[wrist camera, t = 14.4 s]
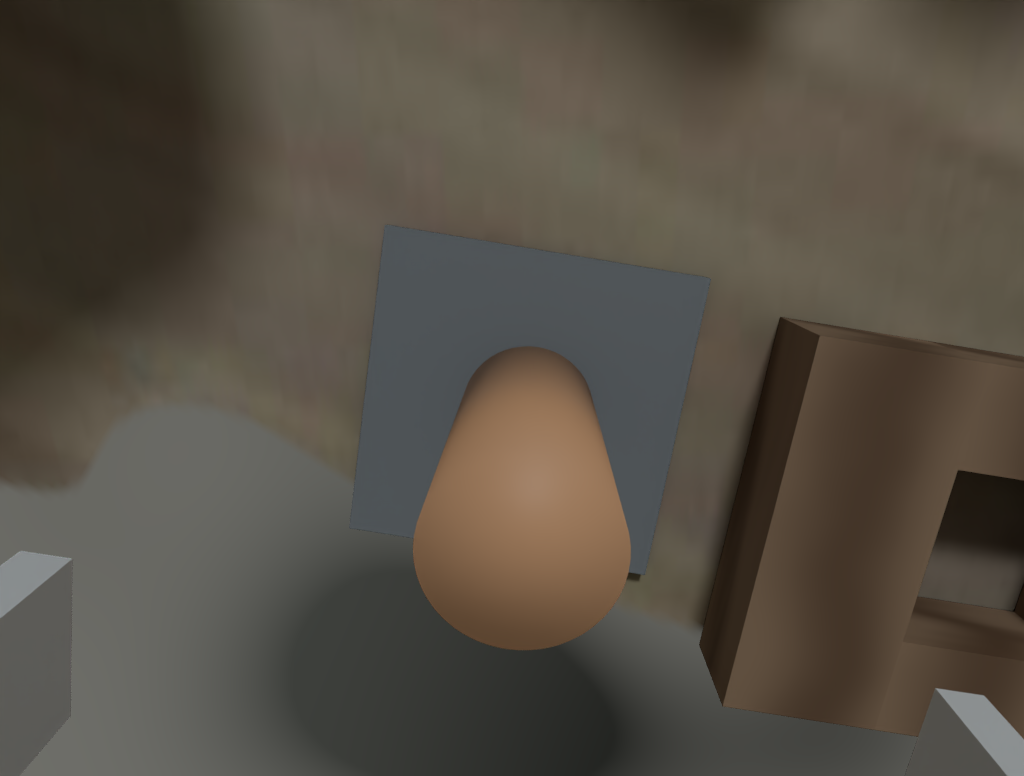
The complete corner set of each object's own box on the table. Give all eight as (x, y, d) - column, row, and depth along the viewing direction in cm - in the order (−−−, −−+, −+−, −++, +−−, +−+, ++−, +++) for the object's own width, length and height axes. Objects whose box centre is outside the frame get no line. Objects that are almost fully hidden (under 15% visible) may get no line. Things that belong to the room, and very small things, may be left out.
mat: (352, 523, 31) (349, 528, 30) (387, 224, 28) (384, 225, 28) (642, 569, 31) (644, 574, 31) (707, 277, 28) (710, 278, 28)
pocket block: (699, 644, 32) (722, 706, 28) (780, 316, 29) (820, 335, 25) (1118, 710, 32) (1198, 780, 28) (1247, 393, 29) (1359, 424, 25)
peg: (452, 460, 30) (398, 630, 18) (473, 335, 28) (430, 432, 17) (579, 482, 30) (606, 666, 18) (605, 359, 29) (651, 471, 17)
